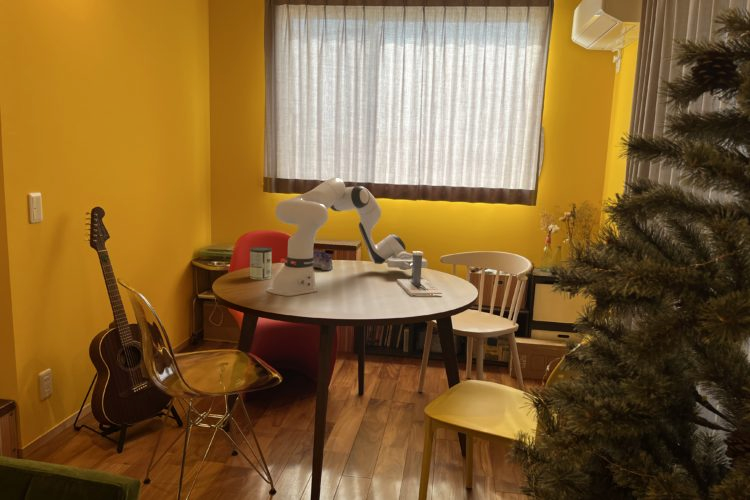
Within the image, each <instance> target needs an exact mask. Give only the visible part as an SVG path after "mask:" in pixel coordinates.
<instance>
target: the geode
mask: <svg viewBox="0 0 750 500" xmlns="http://www.w3.org/2000/svg"><path fill="white" fill-rule="evenodd" d="M332 256H333V254H329V253H328V252H327V253H326V252H324V251H323V250H319V249H316V250H314V251H313V257H314V265H313V269H317V270H320V271H322V272H331V271H332V270H333V259H332Z"/></svg>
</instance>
